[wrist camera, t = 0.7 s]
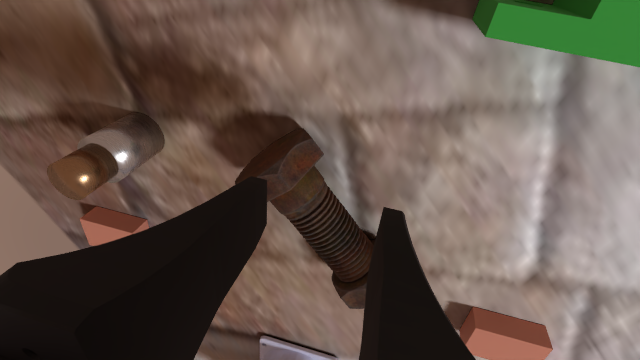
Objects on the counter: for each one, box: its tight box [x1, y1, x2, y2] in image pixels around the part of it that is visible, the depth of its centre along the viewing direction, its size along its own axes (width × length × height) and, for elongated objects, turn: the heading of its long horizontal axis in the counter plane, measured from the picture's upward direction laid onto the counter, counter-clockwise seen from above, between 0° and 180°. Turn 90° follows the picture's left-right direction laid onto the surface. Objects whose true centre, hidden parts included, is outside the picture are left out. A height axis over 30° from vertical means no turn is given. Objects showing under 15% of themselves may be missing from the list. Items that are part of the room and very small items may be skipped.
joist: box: [460, 307, 553, 360], centre depth 25 cm, size 3×5×2 cm, turn 84°
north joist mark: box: [80, 206, 149, 246], centre depth 30 cm, size 3×5×2 cm, turn 85°
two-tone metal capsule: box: [47, 112, 164, 200], centre depth 22 cm, size 3×3×6 cm
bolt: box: [235, 129, 375, 309], centre depth 23 cm, size 6×5×15 cm
